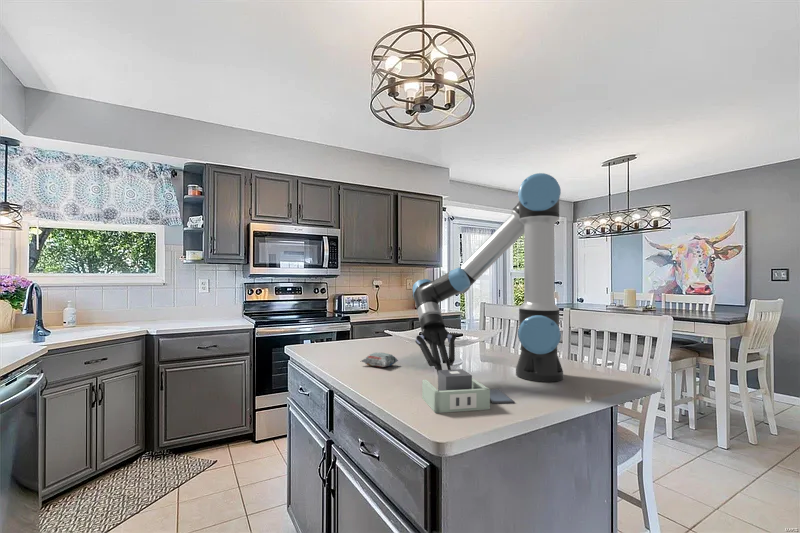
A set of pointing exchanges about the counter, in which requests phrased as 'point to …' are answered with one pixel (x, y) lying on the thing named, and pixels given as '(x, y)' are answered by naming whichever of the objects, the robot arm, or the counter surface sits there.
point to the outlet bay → (456, 398)
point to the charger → (454, 380)
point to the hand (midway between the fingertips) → (447, 386)
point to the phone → (499, 397)
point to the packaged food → (379, 360)
